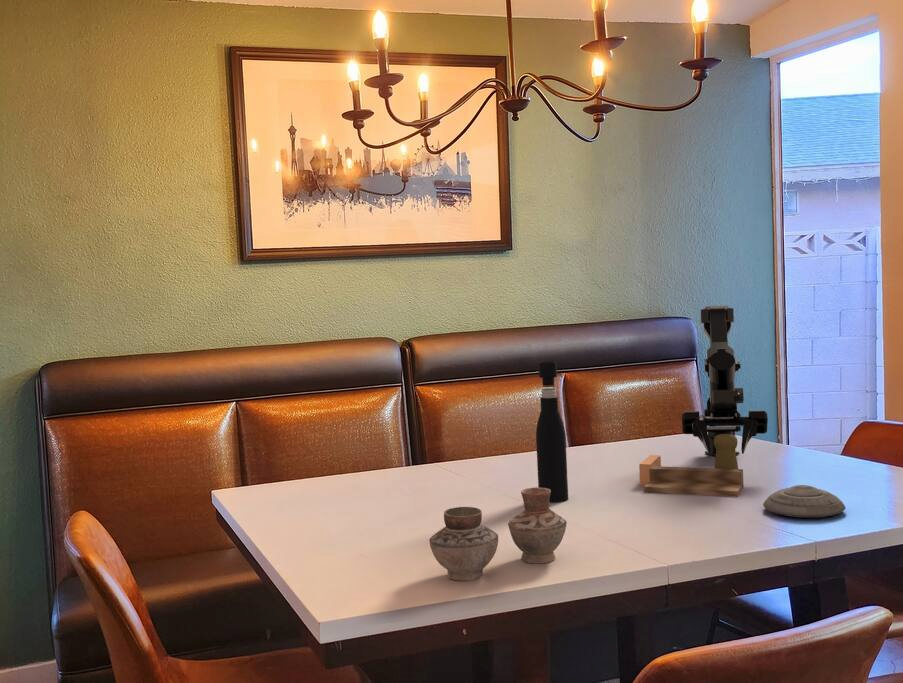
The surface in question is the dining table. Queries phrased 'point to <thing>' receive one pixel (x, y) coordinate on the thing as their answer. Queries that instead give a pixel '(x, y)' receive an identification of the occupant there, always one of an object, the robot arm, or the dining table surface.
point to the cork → (725, 451)
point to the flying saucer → (804, 502)
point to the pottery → (474, 545)
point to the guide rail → (689, 479)
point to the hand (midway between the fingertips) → (725, 452)
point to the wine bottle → (551, 438)
